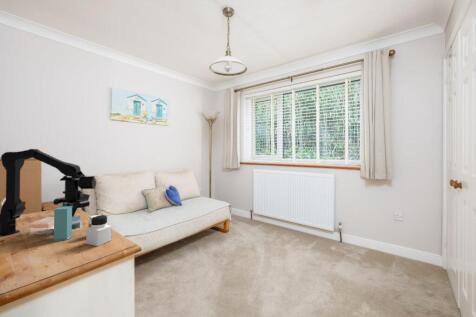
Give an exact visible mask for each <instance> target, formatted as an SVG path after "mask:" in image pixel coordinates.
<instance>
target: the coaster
mask: <svg viewBox="0 0 476 317" xmlns="http://www.w3.org/2000/svg"><path fill="white" fill-rule="evenodd" d="M72 238H73V234H72V235H71V236H70V237H69V238H67V239H58V240H54V238H53V241H54V242H64V241H68V240H70V239H72Z"/></svg>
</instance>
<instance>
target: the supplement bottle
mask: <svg viewBox="0 0 476 317" xmlns="http://www.w3.org/2000/svg"><path fill="white" fill-rule="evenodd" d="M98 215H99V214H94V215H91V216H89V221H88V223H87V224H88V225H87V226H88V227H87V228H89V227H92V226H91V219H92V217H94V216H98Z"/></svg>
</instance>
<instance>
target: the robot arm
mask: <svg viewBox="0 0 476 317" xmlns="http://www.w3.org/2000/svg"><path fill="white" fill-rule="evenodd" d="M0 156H1V157H0V160H1V163H2V166H3V168H4V169H5V172H6V173H5V201H4V202H3V204H2V205H1V208H0V237H5V236H9V235H12V234H16V233H20V232H21V231H20V230H18V229H17V219H19V218H20V217H21V215H22V214H23V213H24V212H25V210H27V208H26V204H27V203H26V201H22V200H21V197H20V196H21V170H22V169H23V166H24V164H25V160H28V159H35V160H37V161H39V162H42V163H43V164H46V165H48V166H51V167H53V168H55V169H56V170H58V171H59V172H60V173H61V174H63V176H62V177H61V178H60V179H59V181H60V182H61V181H63V182H64V191H62V194H64V196H63V197H59V198H54V200H53V205H56V206H57V205H59V204H62V205H61V206H60V207H64V206H72V217H73V216H75V215H76V212H77V210H78V209H82V208H85V207H90V203H91V202H90V201H89V199H90V195H91V194H86V193H83V192H82V190H95V189H96V187H97V181H96V178H95V175H90V176H87V175H85V174H84V173H83V171H82V170H81V166H80V165H78V164H75V163H70V162H67V161H63V160H61V159H58V158H56V157H54V156H53V155H50V154H47V153H45V152H43V151H41V149H37V148H29V149H26V150H20V151H6V152H4V153H2V154H1V155H0ZM79 188H80V189H81V190H80V189H79Z"/></svg>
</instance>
